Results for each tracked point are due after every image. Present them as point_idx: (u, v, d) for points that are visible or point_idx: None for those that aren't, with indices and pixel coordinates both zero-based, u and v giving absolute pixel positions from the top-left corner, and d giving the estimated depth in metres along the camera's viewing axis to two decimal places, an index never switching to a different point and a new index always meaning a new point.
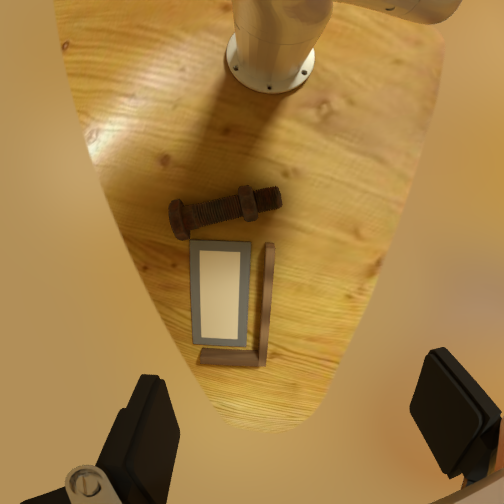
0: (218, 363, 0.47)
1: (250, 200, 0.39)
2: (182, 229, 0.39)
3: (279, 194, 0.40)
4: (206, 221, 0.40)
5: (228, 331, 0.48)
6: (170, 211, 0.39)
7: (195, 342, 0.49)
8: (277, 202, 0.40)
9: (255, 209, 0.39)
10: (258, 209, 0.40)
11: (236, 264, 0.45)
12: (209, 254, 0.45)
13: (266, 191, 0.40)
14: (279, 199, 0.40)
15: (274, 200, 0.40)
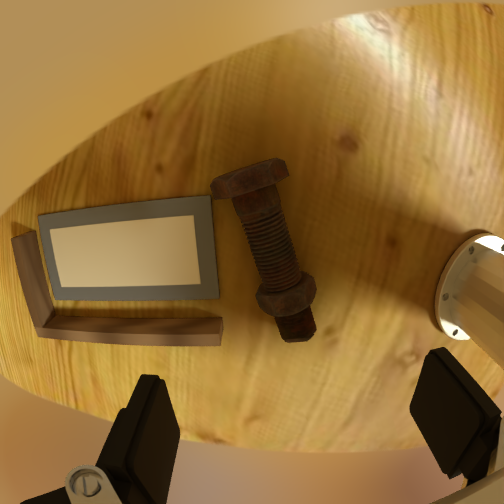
0: (18, 268, 0.23)
1: (298, 307, 0.23)
2: (237, 193, 0.20)
3: (306, 340, 0.25)
4: (253, 232, 0.22)
5: (68, 272, 0.26)
6: (271, 166, 0.20)
7: (40, 219, 0.24)
8: (293, 338, 0.25)
9: (283, 315, 0.23)
10: None
11: (177, 278, 0.26)
12: (188, 233, 0.25)
13: (309, 320, 0.25)
14: (298, 340, 0.25)
15: (297, 336, 0.24)
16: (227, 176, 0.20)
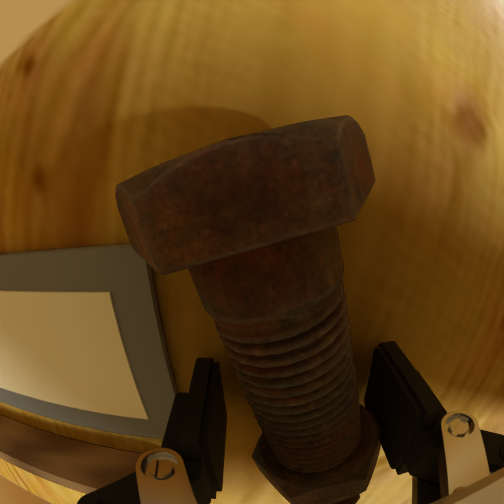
0: None
1: (346, 495, 0.07)
2: (187, 259, 0.04)
3: None
4: (252, 366, 0.06)
5: None
6: (343, 137, 0.04)
7: None
8: None
9: None
10: None
11: (104, 404, 0.11)
12: (106, 330, 0.10)
13: None
14: None
15: None
16: (144, 176, 0.04)
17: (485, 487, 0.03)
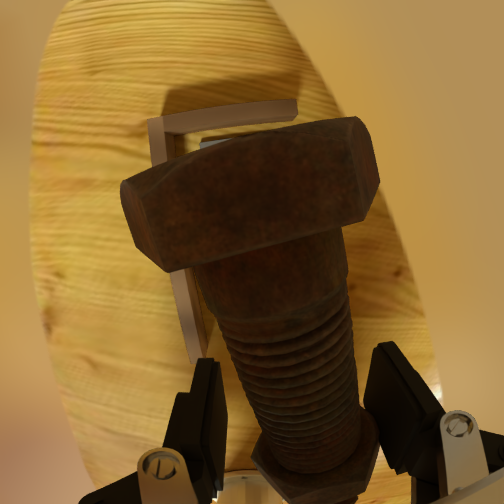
0: (254, 105, 0.19)
1: (345, 496, 0.07)
2: (195, 257, 0.04)
3: None
4: (255, 366, 0.06)
5: None
6: (353, 137, 0.04)
7: None
8: None
9: None
10: None
11: None
12: None
13: None
14: None
15: None
16: (152, 172, 0.04)
17: (485, 487, 0.03)
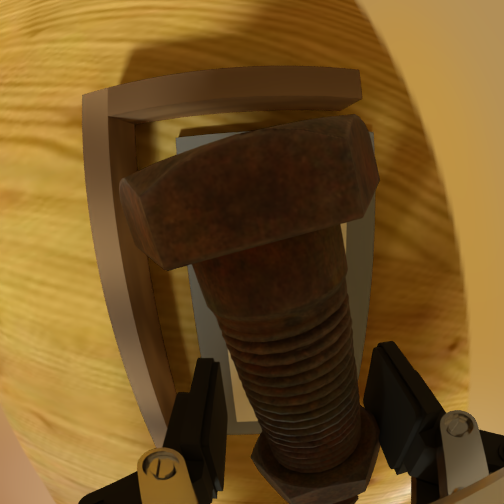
0: (280, 72, 0.09)
1: (346, 495, 0.07)
2: (193, 254, 0.04)
3: None
4: (255, 365, 0.06)
5: None
6: (352, 135, 0.04)
7: None
8: None
9: None
10: None
11: (243, 399, 0.16)
12: None
13: None
14: None
15: None
16: (151, 170, 0.04)
17: (485, 487, 0.03)
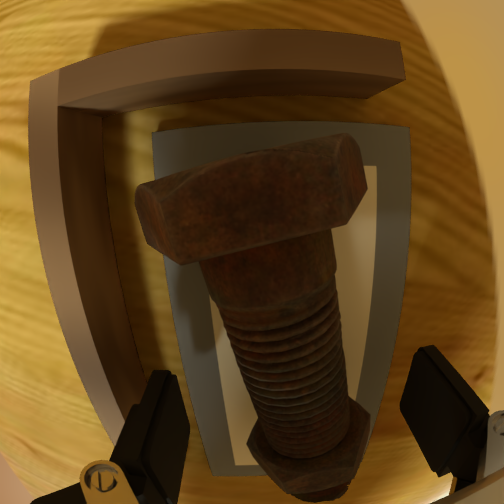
0: (294, 37, 0.06)
1: (335, 482, 0.08)
2: (204, 252, 0.05)
3: (332, 498, 0.10)
4: (252, 352, 0.07)
5: None
6: (340, 153, 0.05)
7: (400, 134, 0.09)
8: None
9: (302, 491, 0.08)
10: None
11: (242, 444, 0.13)
12: None
13: None
14: None
15: (319, 498, 0.10)
16: (169, 180, 0.05)
17: (485, 487, 0.03)
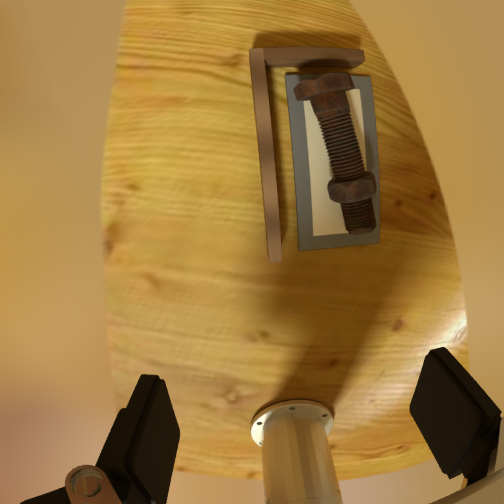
0: (333, 50, 0.22)
1: (367, 193, 0.25)
2: (323, 90, 0.22)
3: (370, 231, 0.27)
4: (331, 126, 0.24)
5: None
6: (347, 74, 0.21)
7: (367, 79, 0.26)
8: (359, 229, 0.27)
9: (355, 200, 0.25)
10: (350, 203, 0.26)
11: (317, 216, 0.30)
12: None
13: (372, 212, 0.27)
14: (362, 231, 0.27)
15: (363, 225, 0.27)
16: (314, 77, 0.21)
17: (485, 487, 0.03)
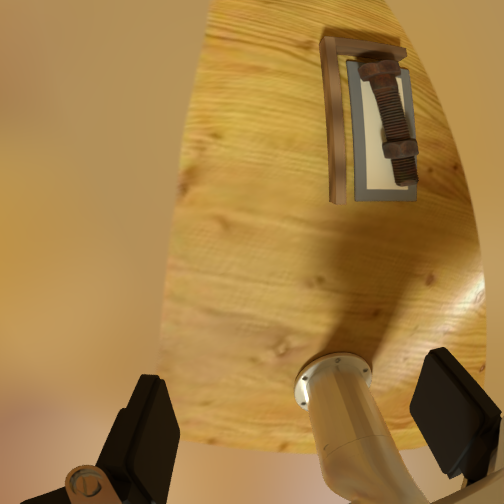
0: (385, 45, 0.27)
1: (413, 151, 0.29)
2: (383, 71, 0.26)
3: (414, 183, 0.31)
4: (386, 99, 0.28)
5: None
6: None
7: (406, 71, 0.30)
8: (407, 181, 0.31)
9: (405, 155, 0.29)
10: (400, 159, 0.30)
11: (370, 173, 0.34)
12: None
13: (415, 169, 0.31)
14: (409, 183, 0.31)
15: (410, 177, 0.31)
16: (376, 61, 0.26)
17: (485, 487, 0.03)
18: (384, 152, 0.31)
